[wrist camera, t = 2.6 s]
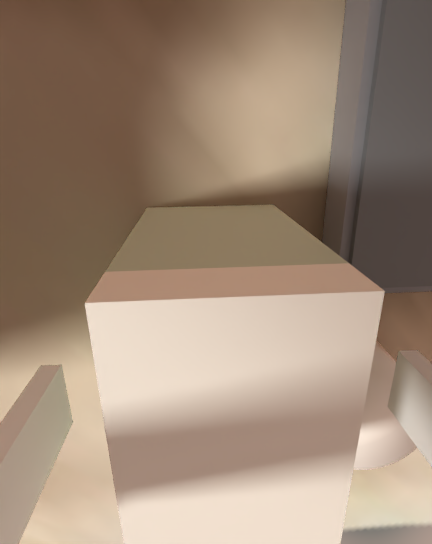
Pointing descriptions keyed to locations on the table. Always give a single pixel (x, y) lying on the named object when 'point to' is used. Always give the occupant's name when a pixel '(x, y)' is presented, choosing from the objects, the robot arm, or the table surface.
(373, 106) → the podium
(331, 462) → the carton
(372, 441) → the cream rounded domed part
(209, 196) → the table surface
